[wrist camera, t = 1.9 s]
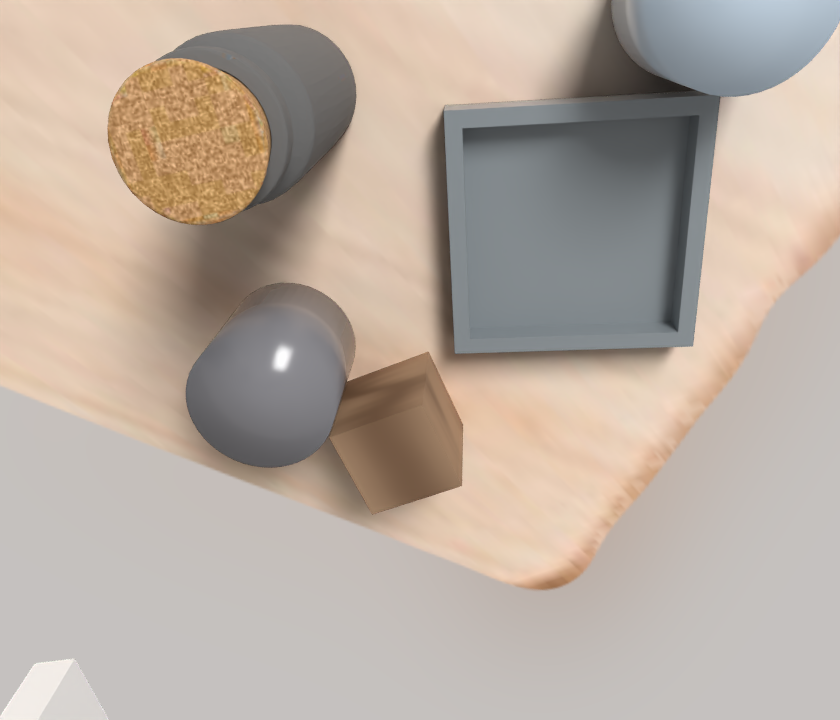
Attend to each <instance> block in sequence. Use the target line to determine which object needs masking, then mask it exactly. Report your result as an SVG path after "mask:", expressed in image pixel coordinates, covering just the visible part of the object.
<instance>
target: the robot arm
mask: <svg viewBox="0 0 840 720" xmlns="http://www.w3.org/2000/svg"><path fill="white" fill-rule="evenodd" d="M0 720H109V718H108V717H107V715H106V713H105V711H104V710H103V708H102V706H101V704H100V703H99V701H98V699H97V697H96V695H95V694H94V692H93V690H92V689H91V687H90V685H89V683H88V681H87V680H86V678H85V676H84V674H83V672H82V671H81V669H80V667H79V665H78V664H77V662H76V660H75V659H68V660H60V661H51V662H42V663H35V664H34V665H33V667H32V668H31V670H30V671H29V673H28V675H27V676H26V678H25V679H24V681H23V682H22V684H21V685H20V687H19V688H18V690H17V691H16V693H15V694H14V696H13V697H12V699H11V700H10V702H9V703H8V705H7V706H6V708H5V710H4V711H3V712H2V714H1V716H0Z"/></svg>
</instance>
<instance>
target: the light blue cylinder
mask: <svg viewBox="0 0 840 720" xmlns="http://www.w3.org/2000/svg"><path fill="white" fill-rule="evenodd" d="M611 13H612V20H613V25H614V29H615V32H616V35H617V37H618V39H619V42H620V44H621V45H622V47H623V49H624V50H625V52H626V53H627V54H628V55H629V57H630V58H631V59H632V60H633V61H634V62H635V63H636V64H637V65H639V66H640V67H641V68H643V69H644V70H646V71H648V72H650V73H652V74H654V75H656V76H659V77H662V78H664V79H667V80H670V81H673V82H675V83H678V84H681V85H683V86H686V87H689V88H691V89H694V90H697V91H700V92H703V93H706V94H710V95H716V96H722V97H736V96H744V95H750V94H754V93H758V92H762V91H764V90H767V89H769V88H772V87H774V86H776V85H778V84H780V83H782V82H784V81H786V80H787V79H789V78H790V77H792V76H793V75H795V74H796V73H797V72H799V71H800V70H801V69H802V68H803V67H805V66H806V65H807V64H808V63H809V62H810V61H811V60H812V59H813V58H814V57H815V56H816V55H817V54H818V53H819V52H820V50H821V49H822V48H823V47H824V45H825V44H826V43H827V41H828V40H829V39H830V37H831V35H832V34H833V32H834V30H835V29H836V27H837V25H838V23H839V21H840V0H611Z"/></svg>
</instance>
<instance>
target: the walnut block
mask: <svg viewBox="0 0 840 720" xmlns="http://www.w3.org/2000/svg"><path fill="white" fill-rule="evenodd" d="M329 438H330V440H331V442H332V444H333V446H334V447H335V449H336V451H337V453H338V455H339V456H340V458H341V460H342V462H343V463H344V465H345V467H346V469H347V471H348V472H349V474H350V476H351V478H352V479H353V481H354V483H355V485H356V487H357V488H358V490H359V492H360V494H361V496H362V497H363V499H364V501H365V503H366V504H367V506H368V508H369V510H370V512H371V513H372V515H373V514H376V513H379V512H382V511H385V510H388V509H391V508H394V507H398V506H401V505H404V504H407V503H410V502H413V501H416V500H419V499H423V498H426V497H429V496H432V495H435V494H438V493H441V492H444V491H448V490H451V489H454V488H457V487H460V486H462V454H463V424H462V422H461V419H460V417H459V415H458V413H457V411H456V409H455V407H454V405H453V402H452V400H451V398H450V396H449V394H448V392H447V390H446V388H445V385H444V383H443V381H442V379H441V377H440V375H439V373H438V371H437V368H436V366H435V364H434V362H433V360H432V358H431V356H430V354H429V352H426V353H424V354H421V355H418V356H416V357H413V358H410V359H407V360H405V361H402V362H399V363H397V364H394V365H391V366H388V367H386V368H383V369H380V370H378V371H375V372H372V373H369V374H367V375H364V376H361V377H359V378H356V379H353V380H351V381H348V382H347V384H346V387H345V390H344V393H343V396H342V399H341V402H340V406H339V409H338V412H337V415H336V418H335V421H334V424H333V427H332V430H331V433H330V436H329Z"/></svg>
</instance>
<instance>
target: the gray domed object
mask: <svg viewBox="0 0 840 720" xmlns="http://www.w3.org/2000/svg"><path fill="white" fill-rule="evenodd" d="M354 356H355V337H354V332H353V329H352V326H351V324H350V322H349V320H348V318H347V316H346V315H345V313H344V312H343V311H342V309H341V308H340V307H339V306H338V305H337V304H336V303H335V302H334V301H333V300H332V299H331V298H329V297H328V296H326V295H325V294H323V293H322V292H320V291H318V290H316V289H313V288H311V287H308V286H305V285H301V284H295V283H278V284H272V285H268V286H265V287H262V288H260V289H258V290H256V291H254V292H253V293H251V294H250V295H249V296H247V297H246V298H245V299H244V300H243V301H242V302H241V304H240V305H239V306H238V307H237V309H236V310H235V311H234V313H233V314H232V315H231V317H230V318H229V319H228V320H227V322H226V323H225V324H224V326H223V327H222V328H221V330H220V331H219V332H218V333H217V335H216V336H215V337H214V339H213V340H212V341H211V343H210V344H209V345H208V347H207V348H206V349H205V350H204V352H203V353H202V354H201V356H200V357H199V358H198V360H197V361H196V362H195V364H194V365H193V367H192V369H191V371H190V373H189V377H188V380H187V385H186V402H187V407H188V411H189V414H190V417H191V419H192V421H193V423H194V425H195V426H196V428H197V430H198V431H199V432H200V434H201V435H202V436H203V437H204V439H205V440H206V441H207V442H208V443H209V444H210V445H212V446H213V447H214V448H215V449H217V450H218V451H219V452H221V453H222V454H224V455H226V456H227V457H229V458H231V459H233V460H236V461H238V462H241V463H244V464H248V465H252V466H258V467H282V466H287V465H291V464H294V463H297V462H299V461H302V460H304V459H306V458H307V457H309V456H310V455H312V454H313V453H314V452H315V451H317V450H318V449H319V448H320V447H321V445H322V444H323V443H324V442H325V440H326V439H327V437H328V435H329V433H330V431H331V428H332V425H333V422H334V419H335V416H336V413H337V410H338V407H339V404H340V401H341V398H342V395H343V392H344V389H345V385H346V382H347V379H348V376H349V373H350V370H351V367H352V364H353V360H354Z"/></svg>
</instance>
